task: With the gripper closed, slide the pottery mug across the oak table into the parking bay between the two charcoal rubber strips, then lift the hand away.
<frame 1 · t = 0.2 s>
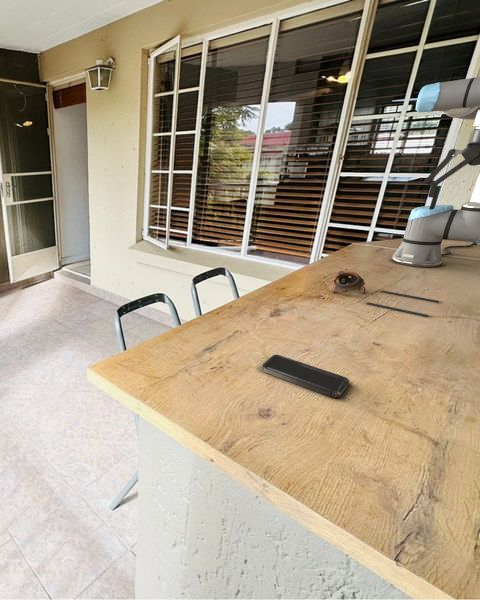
hand: (464, 210, 98), 28 cm above the counter, tool pointing down, fingers open, 13 cm apart
phone: (302, 377, 76), on the counter
bay strips: (402, 302, 109), on the counter
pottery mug: (345, 292, 120), on the counter
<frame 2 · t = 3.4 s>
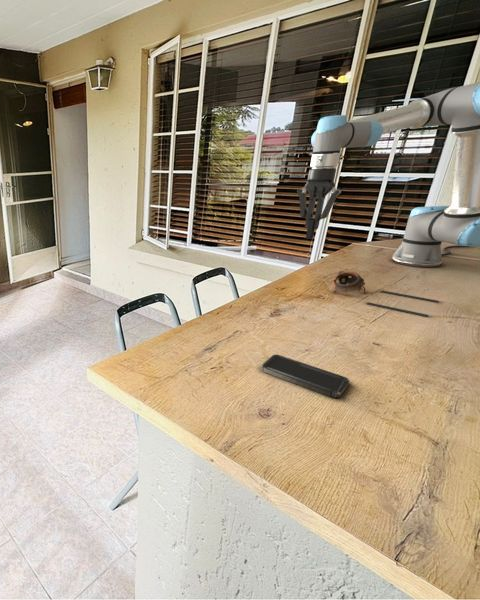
hand: (309, 238, 124), 17 cm above the counter, tool pointing down, fingers closed
nothing on the counter moved.
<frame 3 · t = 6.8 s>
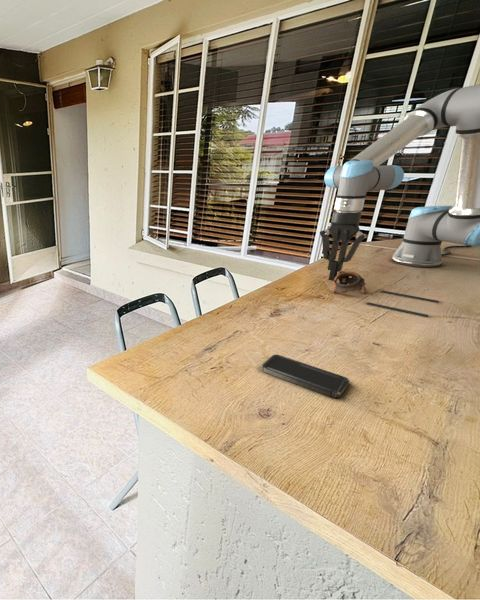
hand: (332, 279, 123), 3 cm above the counter, tool pointing down, fingers closed
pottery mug: (346, 292, 120), on the counter, touching gripper
everything else where it was.
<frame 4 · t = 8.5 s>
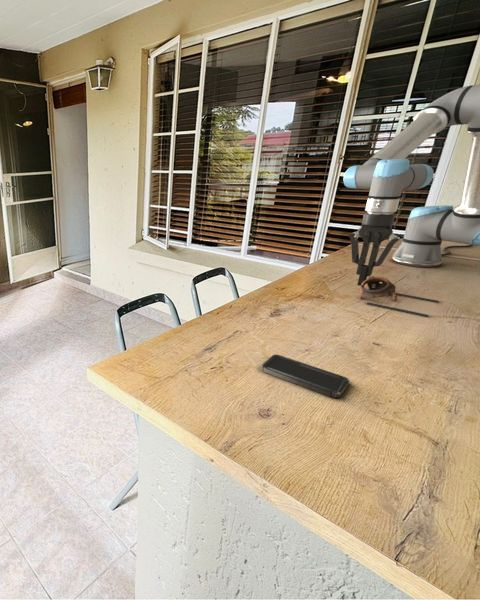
hand: (361, 284, 116), 3 cm above the counter, tool pointing down, fingers closed
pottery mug: (374, 298, 114), on the counter, touching gripper
everything else where it was.
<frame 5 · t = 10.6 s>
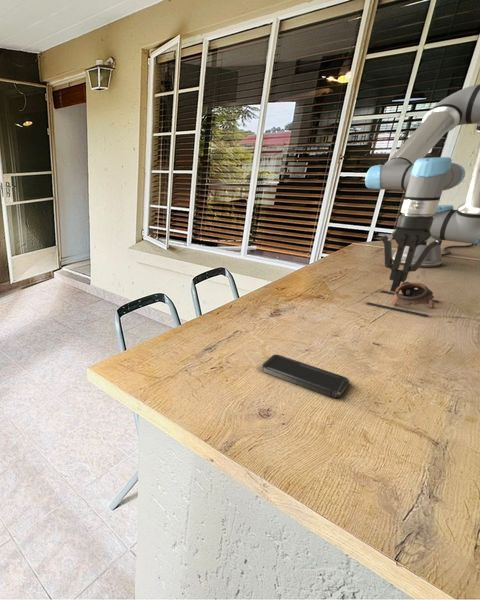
hand: (394, 290, 110), 4 cm above the counter, tool pointing down, fingers closed
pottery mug: (409, 305, 108), on the counter, touching gripper
everything else where it was.
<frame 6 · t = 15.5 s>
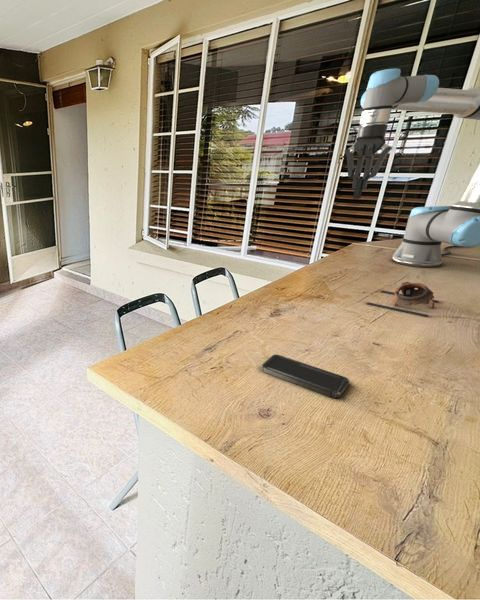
hand: (356, 198, 124), 29 cm above the counter, tool pointing down, fingers closed
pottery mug: (409, 305, 107), on the counter
everything else where it was.
at the end: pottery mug inside the target area (1.0 cm from its centre), on the counter; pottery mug tilted 0°; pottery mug moved 16.9 cm from its start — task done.
